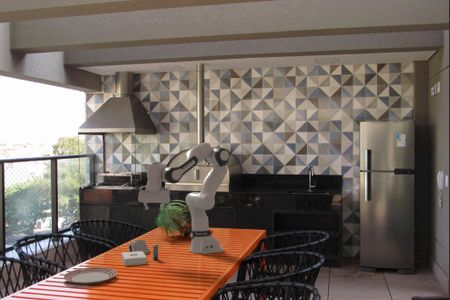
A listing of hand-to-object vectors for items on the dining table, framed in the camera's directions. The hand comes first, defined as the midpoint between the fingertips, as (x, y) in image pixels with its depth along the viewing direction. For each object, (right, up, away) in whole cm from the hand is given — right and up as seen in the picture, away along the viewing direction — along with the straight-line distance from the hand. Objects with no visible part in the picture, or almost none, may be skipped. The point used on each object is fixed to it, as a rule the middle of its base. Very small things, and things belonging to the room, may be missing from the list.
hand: (154, 209), depth 312 cm
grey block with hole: (-11, -31, -9) cm, 34 cm away
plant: (+7, -30, +64) cm, 71 cm away
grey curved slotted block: (-12, -31, +12) cm, 35 cm away
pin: (+2, -30, -5) cm, 31 cm away
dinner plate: (-27, -32, -48) cm, 64 cm away
